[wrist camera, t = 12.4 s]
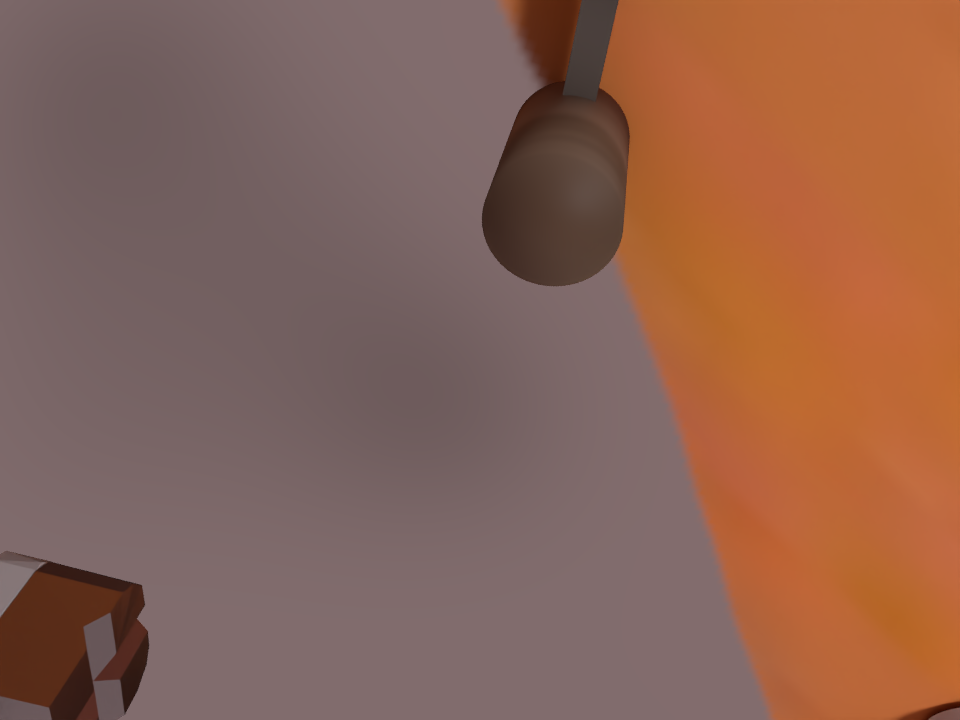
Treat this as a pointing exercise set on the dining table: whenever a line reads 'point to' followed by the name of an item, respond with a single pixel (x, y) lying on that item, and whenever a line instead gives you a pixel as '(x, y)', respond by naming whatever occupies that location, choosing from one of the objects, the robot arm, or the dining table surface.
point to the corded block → (563, 170)
